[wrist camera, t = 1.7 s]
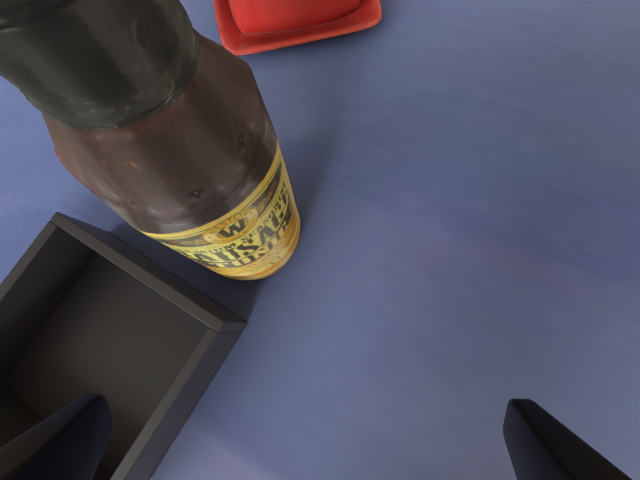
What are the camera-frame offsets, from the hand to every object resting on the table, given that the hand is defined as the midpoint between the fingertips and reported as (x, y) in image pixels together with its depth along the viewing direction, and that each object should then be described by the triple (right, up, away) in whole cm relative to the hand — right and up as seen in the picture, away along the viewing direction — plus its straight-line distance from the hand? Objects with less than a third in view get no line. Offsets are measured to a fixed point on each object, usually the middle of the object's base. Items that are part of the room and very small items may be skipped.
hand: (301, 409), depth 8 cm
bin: (-12, -3, +14) cm, 18 cm away
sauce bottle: (-4, +4, +15) cm, 16 cm away
